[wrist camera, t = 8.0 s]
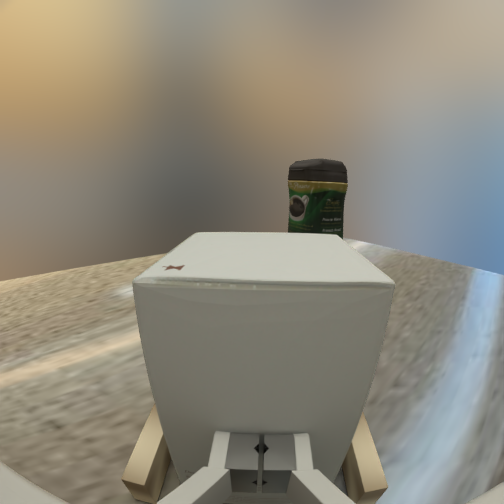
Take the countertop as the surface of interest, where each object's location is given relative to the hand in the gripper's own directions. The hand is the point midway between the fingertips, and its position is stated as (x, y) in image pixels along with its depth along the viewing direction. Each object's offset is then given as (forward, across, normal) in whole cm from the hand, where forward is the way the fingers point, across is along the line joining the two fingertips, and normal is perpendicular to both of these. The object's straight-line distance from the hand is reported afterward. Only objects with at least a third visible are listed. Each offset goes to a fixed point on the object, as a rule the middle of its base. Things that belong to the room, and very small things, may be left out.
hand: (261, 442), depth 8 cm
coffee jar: (+38, -8, +7) cm, 40 cm away
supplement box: (+4, 0, +7) cm, 8 cm away
